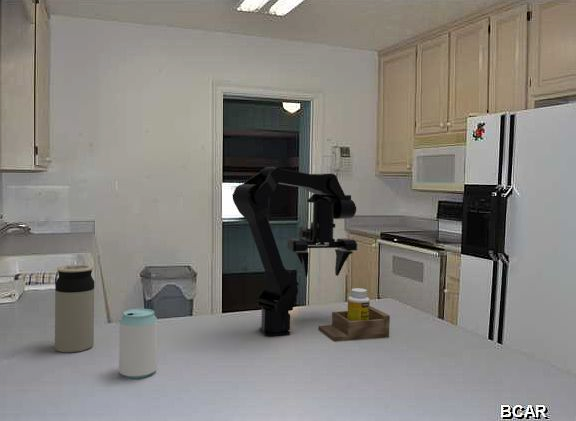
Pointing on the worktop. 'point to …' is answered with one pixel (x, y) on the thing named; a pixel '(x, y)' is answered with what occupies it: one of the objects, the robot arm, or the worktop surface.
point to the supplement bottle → (358, 305)
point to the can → (138, 343)
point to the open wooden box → (357, 326)
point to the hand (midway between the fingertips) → (321, 275)
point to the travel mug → (74, 308)
